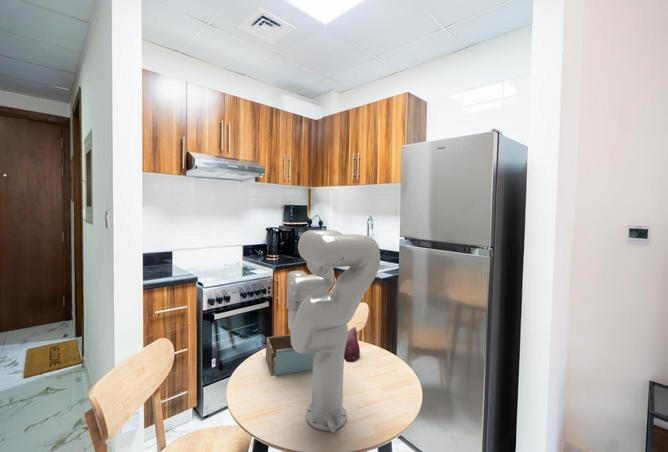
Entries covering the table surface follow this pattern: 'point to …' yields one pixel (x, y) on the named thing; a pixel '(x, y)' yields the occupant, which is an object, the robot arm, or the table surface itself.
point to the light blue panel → (292, 361)
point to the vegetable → (352, 347)
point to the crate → (272, 346)
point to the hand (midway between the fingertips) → (295, 350)
